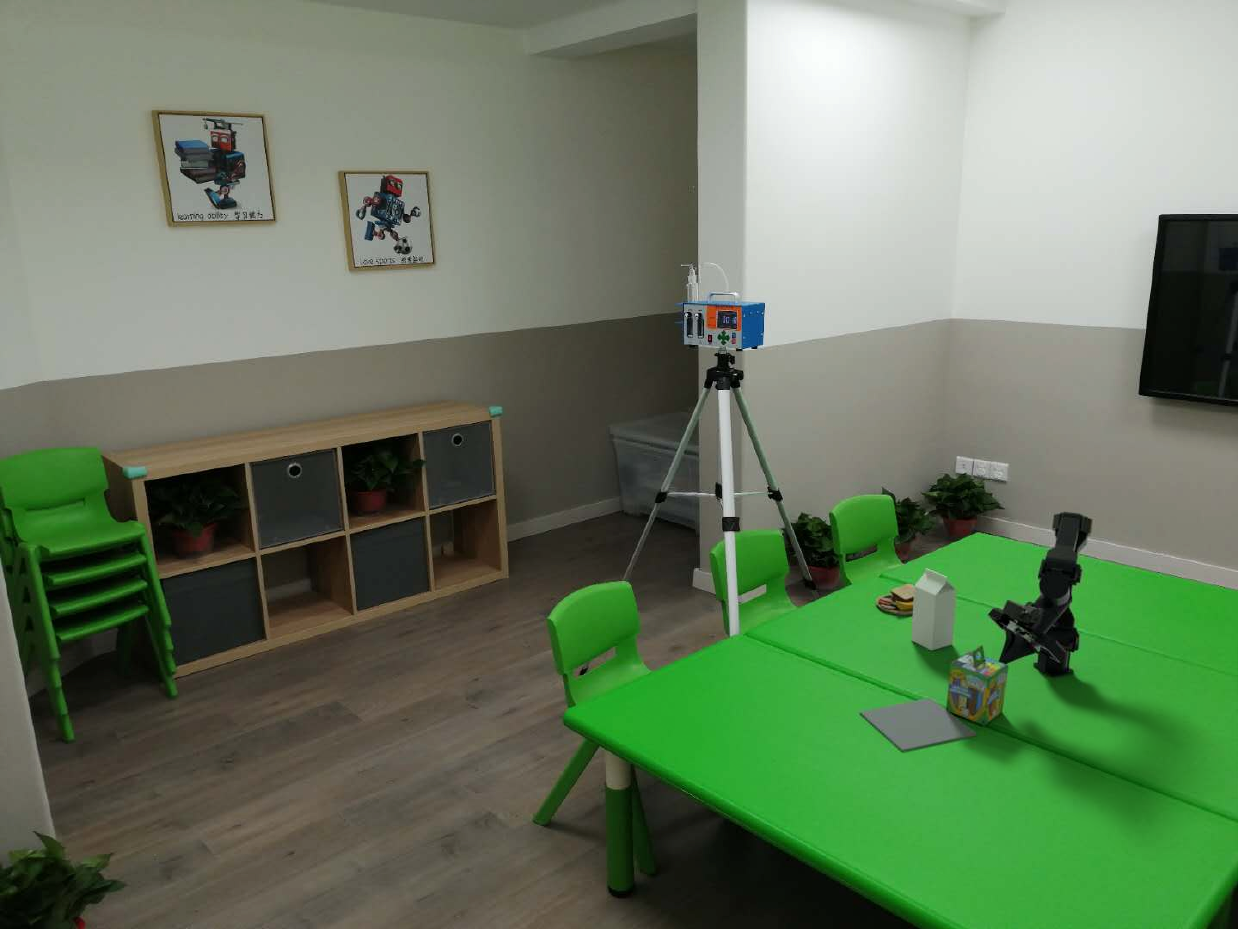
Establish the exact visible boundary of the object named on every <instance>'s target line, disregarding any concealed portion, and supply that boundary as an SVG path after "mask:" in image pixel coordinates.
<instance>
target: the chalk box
mask: <svg viewBox="0 0 1238 929" xmlns="http://www.w3.org/2000/svg"><path fill="white" fill-rule="evenodd" d="M949 670H950V671H949V679H948V689H947V696H946V697H947V700H946V707H945V709H946V710H947V711H948V712H950V713H951V714H953V715H954V714H955V715H957V716H959V717H962V718H964V719H967V720H969V721H971V722H974V723H976V724H979V725H981V726H984V727H985V726H986V725H987V724H988V723H989V722H991V721H992V720H994V719H995V718H996V717H997V716H999V715H1000V714H1001V713H1003V709H1004V702H1005V694H1006V686H1007V681H1008V674H1009V665H1008V664H1004V663H1001V662H999V660H995V659H994V658H992V657H989V656H986V655H985V650H984V646H983V645H979V646H977V647H976V648H975V649H974V650H972V651H968V652H966V653H964V654H963V655H961V656H959V657H958V658H956V659H955V660H953V661H952V662H951V663H950V669H949Z"/></svg>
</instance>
